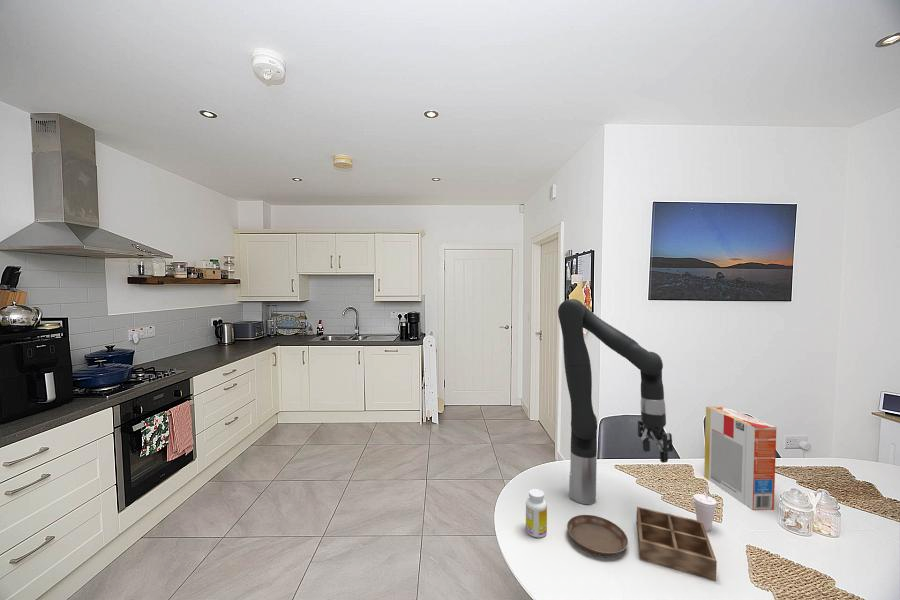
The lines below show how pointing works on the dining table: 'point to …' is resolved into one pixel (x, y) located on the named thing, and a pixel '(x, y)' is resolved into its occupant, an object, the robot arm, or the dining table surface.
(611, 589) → the dining table surface
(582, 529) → the plant saucer
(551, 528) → the dining table surface
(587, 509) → the dining table surface
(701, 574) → the bottle caddy
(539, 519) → the supplement bottle
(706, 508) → the smoothie
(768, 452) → the white and orange box
